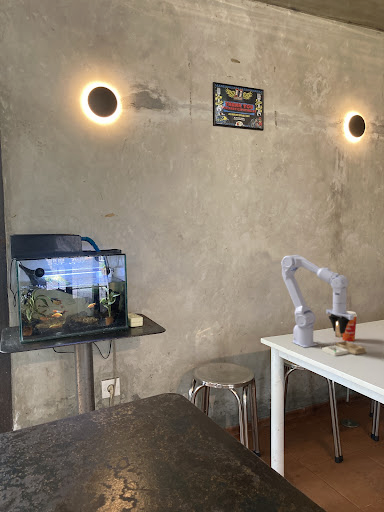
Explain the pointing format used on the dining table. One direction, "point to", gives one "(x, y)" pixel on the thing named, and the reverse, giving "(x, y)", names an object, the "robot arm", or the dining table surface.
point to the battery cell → (337, 330)
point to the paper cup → (350, 328)
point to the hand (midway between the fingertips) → (339, 332)
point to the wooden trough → (351, 347)
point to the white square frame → (335, 353)
